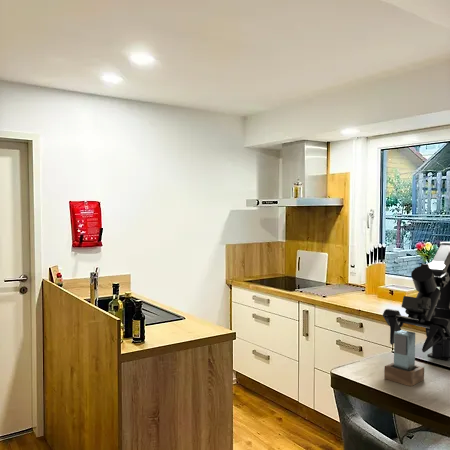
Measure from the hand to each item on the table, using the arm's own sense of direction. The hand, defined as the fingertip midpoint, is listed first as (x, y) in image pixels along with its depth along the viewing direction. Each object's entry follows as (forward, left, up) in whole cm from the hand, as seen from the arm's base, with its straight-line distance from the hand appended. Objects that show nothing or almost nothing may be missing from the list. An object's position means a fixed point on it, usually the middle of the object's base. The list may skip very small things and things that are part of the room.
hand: (406, 347), depth 129 cm
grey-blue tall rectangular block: (+1, 0, -9) cm, 9 cm away
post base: (+1, 0, -9) cm, 9 cm away
